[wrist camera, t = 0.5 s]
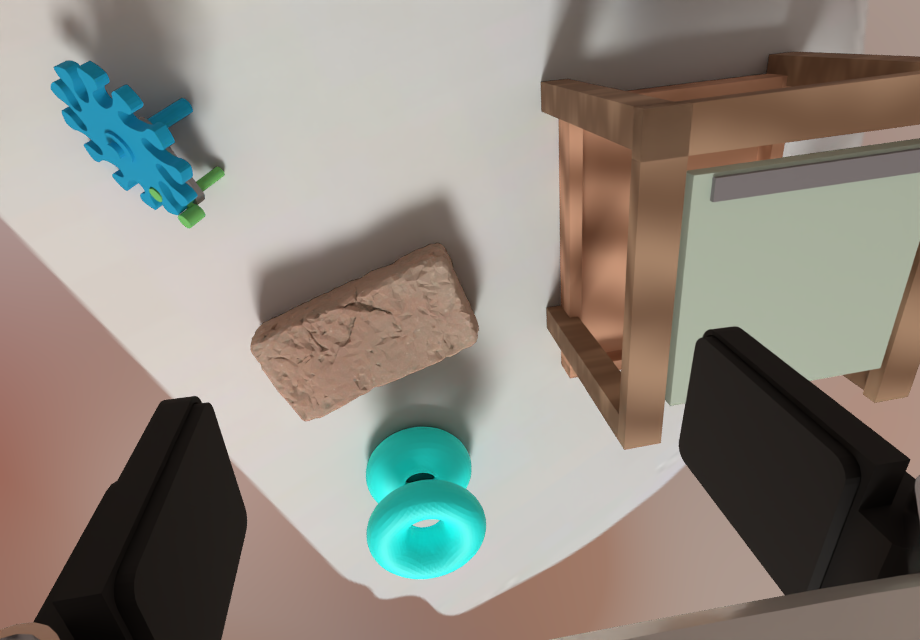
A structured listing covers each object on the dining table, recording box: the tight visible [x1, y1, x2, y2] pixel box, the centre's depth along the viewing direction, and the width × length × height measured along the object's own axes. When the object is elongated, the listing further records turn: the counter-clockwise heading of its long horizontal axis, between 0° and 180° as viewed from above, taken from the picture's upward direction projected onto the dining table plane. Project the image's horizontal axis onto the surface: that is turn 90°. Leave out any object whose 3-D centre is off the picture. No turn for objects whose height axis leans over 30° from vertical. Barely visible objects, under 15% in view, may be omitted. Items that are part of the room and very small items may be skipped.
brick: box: [251, 243, 479, 421], centre depth 45 cm, size 17×8×5 cm, turn 113°
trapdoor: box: [665, 138, 920, 406], centre depth 31 cm, size 14×14×1 cm
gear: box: [51, 61, 225, 228], centre depth 35 cm, size 11×6×10 cm
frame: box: [541, 52, 920, 450], centre depth 39 cm, size 24×20×16 cm
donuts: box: [366, 427, 486, 579], centre depth 50 cm, size 10×10×10 cm
